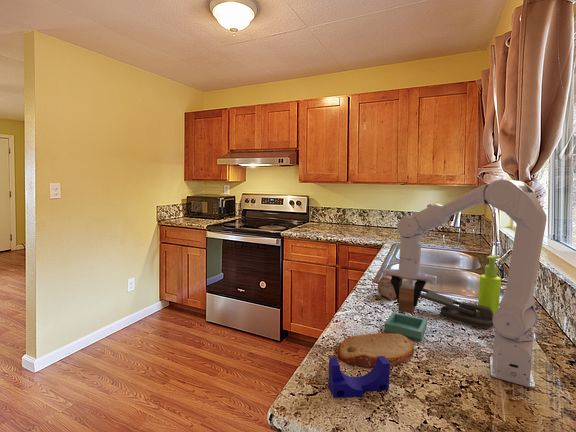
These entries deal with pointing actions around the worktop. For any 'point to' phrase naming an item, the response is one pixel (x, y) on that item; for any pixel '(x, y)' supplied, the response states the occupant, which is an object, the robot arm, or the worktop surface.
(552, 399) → the worktop surface
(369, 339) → the bread slice
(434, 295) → the dark grey stapler
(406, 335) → the teal well
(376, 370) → the blue cradle
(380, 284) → the food item
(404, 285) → the walnut post
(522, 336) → the robot arm
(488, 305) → the soap dispenser
